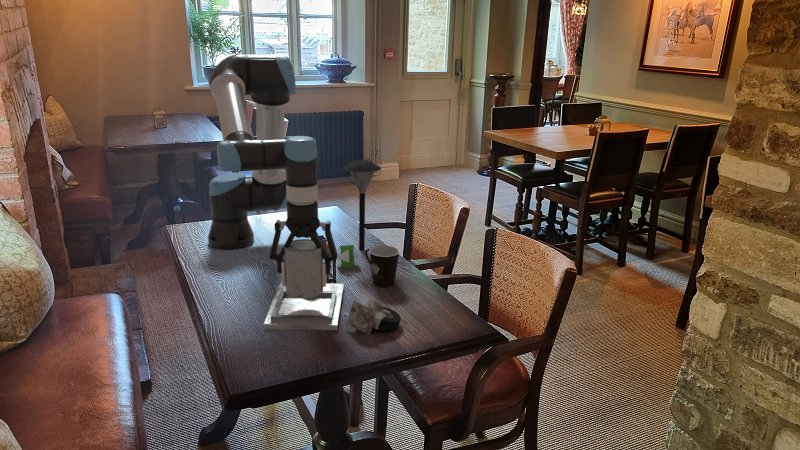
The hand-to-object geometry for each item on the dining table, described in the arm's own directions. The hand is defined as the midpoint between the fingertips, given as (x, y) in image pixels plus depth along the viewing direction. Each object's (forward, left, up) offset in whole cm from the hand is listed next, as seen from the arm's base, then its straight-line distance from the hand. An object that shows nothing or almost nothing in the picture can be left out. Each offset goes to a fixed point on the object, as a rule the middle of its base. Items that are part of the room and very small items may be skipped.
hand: (304, 284), depth 146 cm
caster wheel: (+6, +19, -8) cm, 21 cm away
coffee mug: (-21, +20, -8) cm, 30 cm away
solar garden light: (-46, +13, -8) cm, 49 cm away
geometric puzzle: (-32, +9, -8) cm, 34 cm away
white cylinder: (0, 0, -2) cm, 2 cm away
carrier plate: (-3, 0, -8) cm, 9 cm away
